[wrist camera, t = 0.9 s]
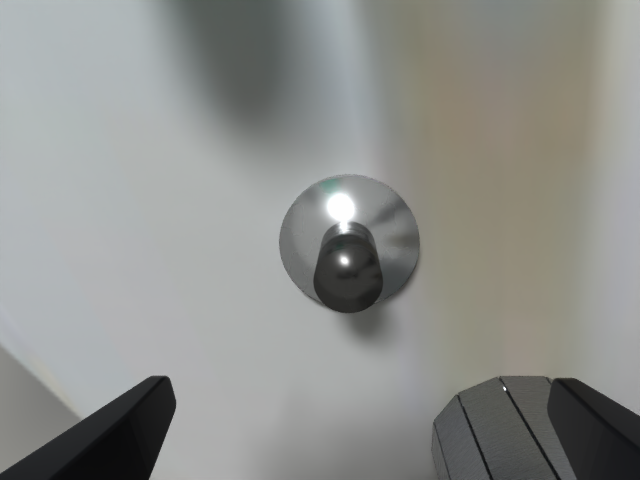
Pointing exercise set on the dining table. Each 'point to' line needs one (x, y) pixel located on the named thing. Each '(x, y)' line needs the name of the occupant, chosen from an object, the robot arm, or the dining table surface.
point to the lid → (349, 242)
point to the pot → (499, 433)
